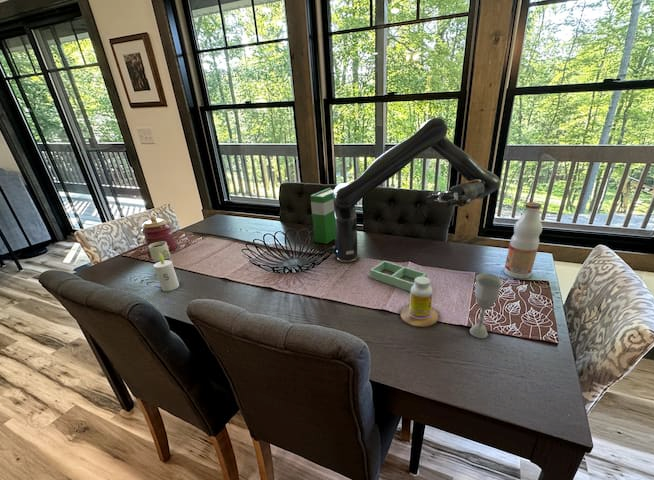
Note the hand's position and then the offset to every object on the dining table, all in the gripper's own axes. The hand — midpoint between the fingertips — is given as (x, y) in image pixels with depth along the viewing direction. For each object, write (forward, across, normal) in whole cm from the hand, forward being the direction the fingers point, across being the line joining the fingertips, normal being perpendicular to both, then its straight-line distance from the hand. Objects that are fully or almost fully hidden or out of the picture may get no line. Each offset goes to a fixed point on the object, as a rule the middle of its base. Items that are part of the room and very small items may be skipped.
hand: (436, 202), depth 110 cm
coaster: (+24, +14, +30) cm, 41 cm away
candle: (+82, -64, +30) cm, 108 cm away
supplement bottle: (+24, +14, +30) cm, 41 cm away
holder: (+11, -7, +30) cm, 33 cm away
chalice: (+18, +31, +30) cm, 47 cm away
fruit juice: (-26, +22, +30) cm, 46 cm away
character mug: (+80, -81, +30) cm, 118 cm away
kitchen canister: (+76, -110, +30) cm, 137 cm away
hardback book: (+3, -63, +30) cm, 70 cm away
